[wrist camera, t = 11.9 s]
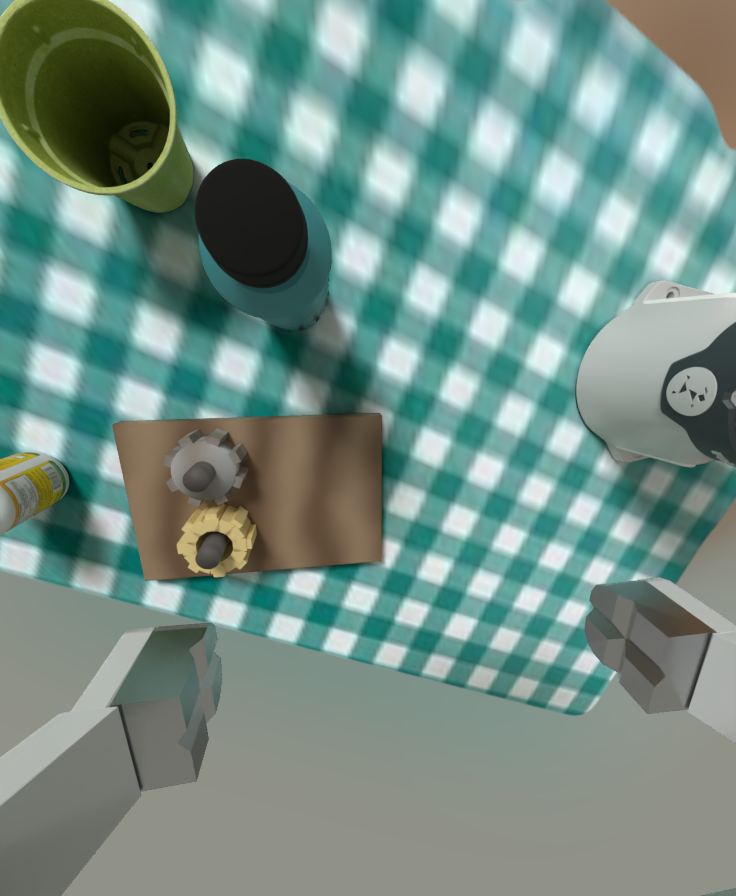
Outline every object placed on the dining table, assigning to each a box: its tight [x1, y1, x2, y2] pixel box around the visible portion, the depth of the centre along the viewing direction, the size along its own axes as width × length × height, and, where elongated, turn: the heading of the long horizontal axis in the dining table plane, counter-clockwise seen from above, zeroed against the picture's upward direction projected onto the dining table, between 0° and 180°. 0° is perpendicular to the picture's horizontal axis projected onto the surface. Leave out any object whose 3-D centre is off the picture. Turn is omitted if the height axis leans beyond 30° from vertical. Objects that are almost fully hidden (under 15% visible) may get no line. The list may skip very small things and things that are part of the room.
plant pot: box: [0, 0, 194, 213], centre depth 24 cm, size 9×9×9 cm
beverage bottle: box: [195, 159, 331, 332], centre depth 22 cm, size 6×7×20 cm
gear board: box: [112, 413, 382, 581], centre depth 34 cm, size 24×16×6 cm, turn 90°
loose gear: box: [177, 501, 257, 577], centre depth 34 cm, size 6×6×3 cm
